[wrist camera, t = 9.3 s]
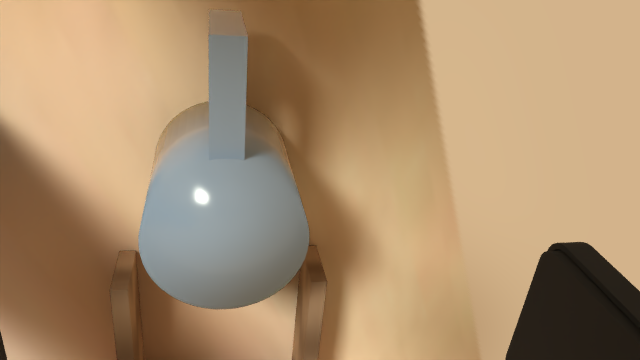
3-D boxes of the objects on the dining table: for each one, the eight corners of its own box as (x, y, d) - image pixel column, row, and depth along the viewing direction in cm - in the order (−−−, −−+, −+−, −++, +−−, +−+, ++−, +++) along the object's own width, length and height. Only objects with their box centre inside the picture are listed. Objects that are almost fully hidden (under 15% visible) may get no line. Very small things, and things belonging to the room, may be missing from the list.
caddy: (119, 251, 35) (109, 290, 32) (316, 245, 38) (326, 281, 34) (132, 383, 41) (124, 429, 37) (303, 371, 43) (311, 413, 40)
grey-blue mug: (146, -4, 29) (123, 36, 21) (296, 6, 30) (327, 45, 22) (158, 218, 35) (143, 313, 27) (282, 216, 36) (303, 305, 28)
